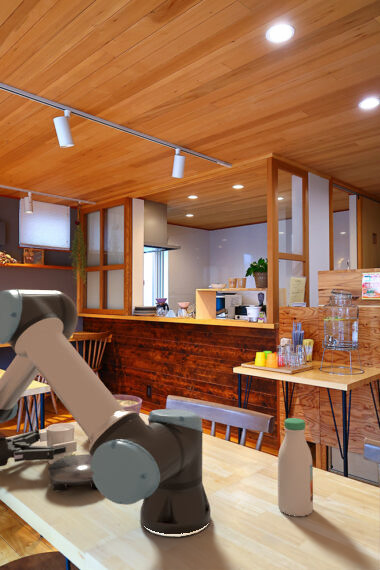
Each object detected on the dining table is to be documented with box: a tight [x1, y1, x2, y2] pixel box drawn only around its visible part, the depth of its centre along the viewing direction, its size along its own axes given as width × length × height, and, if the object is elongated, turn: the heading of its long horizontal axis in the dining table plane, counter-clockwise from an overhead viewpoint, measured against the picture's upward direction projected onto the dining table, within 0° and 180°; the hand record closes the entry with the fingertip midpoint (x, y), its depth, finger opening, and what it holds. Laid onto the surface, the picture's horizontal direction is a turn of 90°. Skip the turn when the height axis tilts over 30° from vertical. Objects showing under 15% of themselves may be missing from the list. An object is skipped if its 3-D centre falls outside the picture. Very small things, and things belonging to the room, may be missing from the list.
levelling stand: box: [47, 453, 99, 492], centre depth 114 cm, size 17×16×4 cm
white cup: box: [46, 422, 75, 466], centre depth 128 cm, size 8×8×10 cm
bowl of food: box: [112, 394, 143, 416], centre depth 153 cm, size 20×20×12 cm
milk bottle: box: [277, 417, 314, 517], centre depth 99 cm, size 8×8×20 cm
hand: (68, 439), depth 130 cm, fingers open, 13 cm apart
